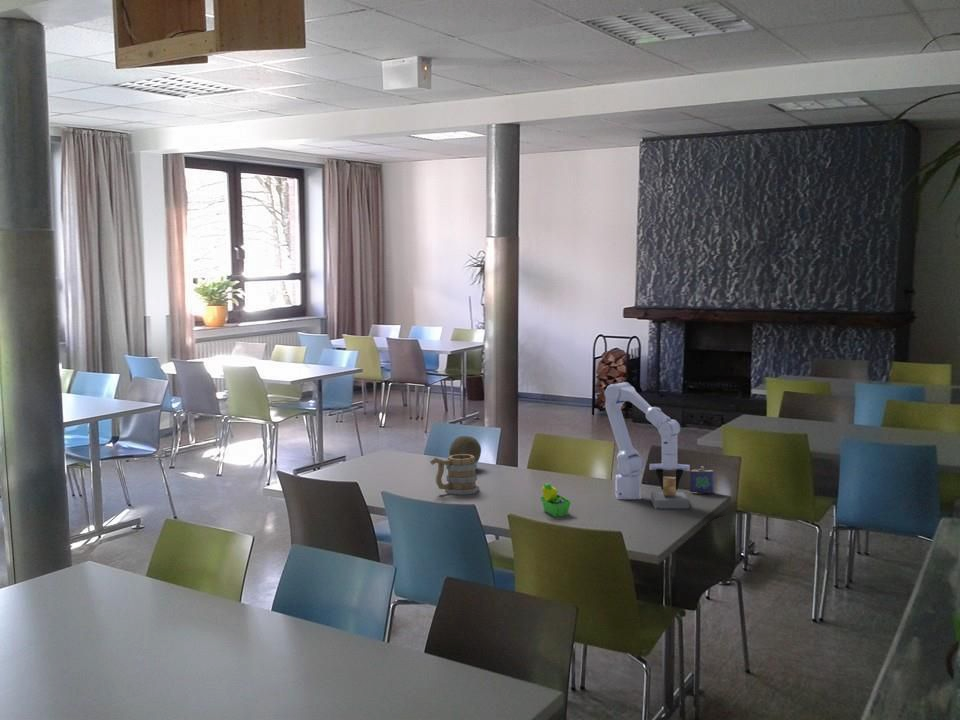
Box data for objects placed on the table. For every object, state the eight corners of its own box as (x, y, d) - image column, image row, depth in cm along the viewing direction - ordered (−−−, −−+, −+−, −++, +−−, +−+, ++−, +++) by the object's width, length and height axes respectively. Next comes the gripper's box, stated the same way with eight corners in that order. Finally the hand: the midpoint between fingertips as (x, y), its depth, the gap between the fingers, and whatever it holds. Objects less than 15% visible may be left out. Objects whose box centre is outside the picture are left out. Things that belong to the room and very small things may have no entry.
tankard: (469, 485, 362) (468, 449, 361) (483, 492, 351) (482, 455, 349) (424, 491, 354) (423, 455, 352) (436, 498, 342) (435, 460, 341)
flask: (713, 492, 342) (713, 465, 341) (714, 494, 339) (714, 466, 338) (689, 492, 343) (689, 465, 342) (690, 494, 340) (690, 467, 339)
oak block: (663, 495, 324) (663, 479, 324) (663, 492, 329) (663, 476, 328) (675, 495, 323) (675, 479, 323) (675, 492, 328) (675, 477, 327)
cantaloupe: (481, 472, 386) (481, 438, 385) (449, 473, 386) (448, 439, 384) (481, 465, 400) (480, 433, 399) (450, 466, 400) (449, 434, 398)
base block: (655, 508, 320) (655, 500, 320) (651, 500, 332) (650, 492, 332) (689, 508, 320) (689, 500, 319) (683, 499, 332) (683, 492, 331)
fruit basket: (572, 515, 313) (571, 484, 312) (549, 518, 310) (549, 487, 309) (558, 508, 324) (558, 478, 323) (536, 510, 321) (536, 480, 320)
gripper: (689, 451, 326) (689, 487, 328) (649, 450, 330) (650, 486, 331) (689, 455, 320) (689, 491, 321) (649, 454, 323) (649, 490, 324)
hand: (669, 489), depth 325 cm, fingers closed on oak block, 4 cm apart
